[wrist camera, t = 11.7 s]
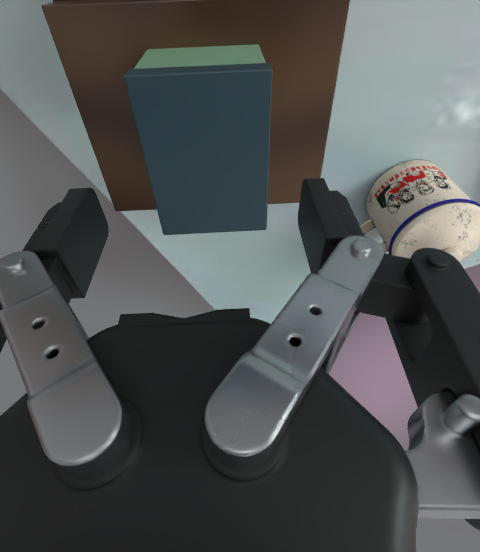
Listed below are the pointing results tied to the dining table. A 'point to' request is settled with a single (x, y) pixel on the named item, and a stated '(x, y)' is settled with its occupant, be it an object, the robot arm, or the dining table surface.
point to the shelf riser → (201, 33)
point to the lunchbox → (205, 135)
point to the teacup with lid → (422, 212)
